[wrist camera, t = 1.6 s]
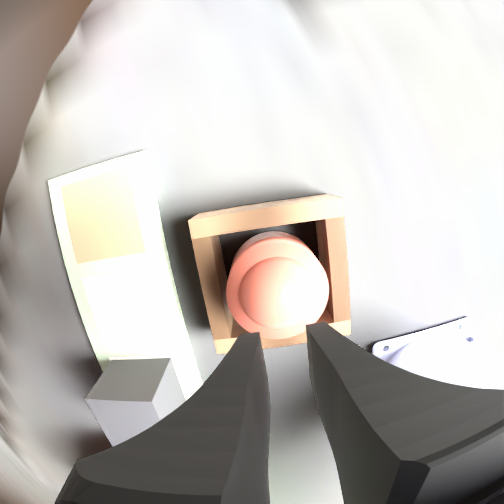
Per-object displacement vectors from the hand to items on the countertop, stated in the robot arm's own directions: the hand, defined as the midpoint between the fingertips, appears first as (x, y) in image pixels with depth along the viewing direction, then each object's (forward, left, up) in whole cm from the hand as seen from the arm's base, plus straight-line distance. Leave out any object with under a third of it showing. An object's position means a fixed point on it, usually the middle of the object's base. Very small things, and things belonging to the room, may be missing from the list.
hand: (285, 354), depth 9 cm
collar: (0, 0, -10) cm, 10 cm away
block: (+10, +8, -10) cm, 16 cm away
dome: (0, 0, -9) cm, 9 cm away
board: (+10, +2, -10) cm, 15 cm away
